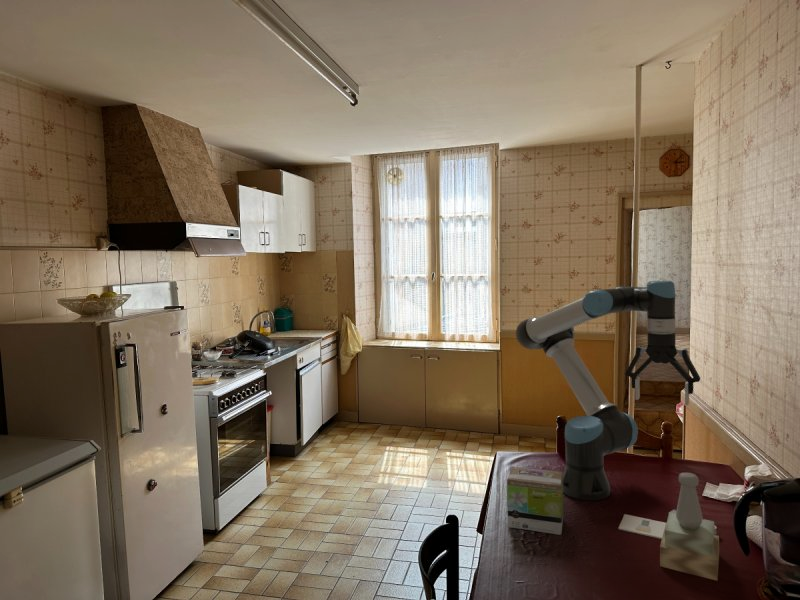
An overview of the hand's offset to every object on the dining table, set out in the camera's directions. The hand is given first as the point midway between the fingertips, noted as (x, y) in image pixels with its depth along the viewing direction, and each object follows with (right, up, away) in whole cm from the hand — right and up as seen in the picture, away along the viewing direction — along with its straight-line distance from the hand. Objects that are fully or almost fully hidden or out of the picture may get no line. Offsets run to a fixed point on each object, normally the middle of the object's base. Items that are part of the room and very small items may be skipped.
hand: (661, 401), depth 157 cm
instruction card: (-11, -33, -12) cm, 37 cm away
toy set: (+2, -33, -14) cm, 36 cm away
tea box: (-40, -34, -7) cm, 53 cm away
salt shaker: (-8, -25, -29) cm, 39 cm away
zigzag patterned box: (-7, -34, -29) cm, 45 cm away
